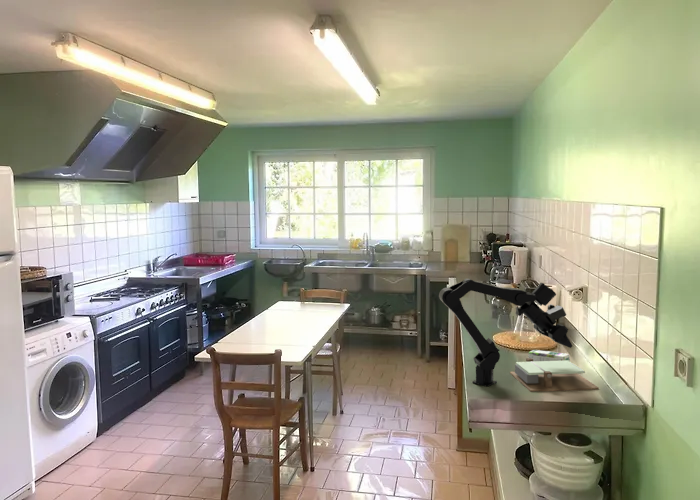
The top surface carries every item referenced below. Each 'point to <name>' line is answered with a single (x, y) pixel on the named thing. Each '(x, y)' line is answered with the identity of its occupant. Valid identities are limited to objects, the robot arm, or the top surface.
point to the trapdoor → (544, 369)
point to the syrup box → (547, 356)
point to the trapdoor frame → (556, 382)
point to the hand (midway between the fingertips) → (566, 343)
